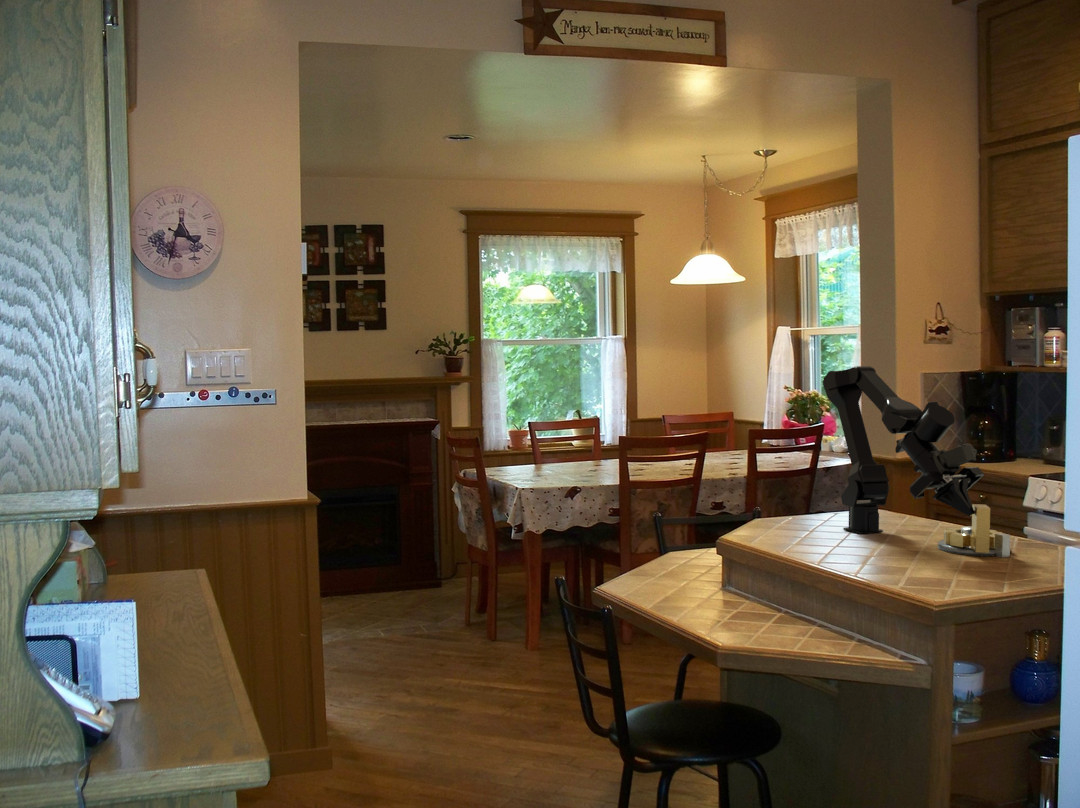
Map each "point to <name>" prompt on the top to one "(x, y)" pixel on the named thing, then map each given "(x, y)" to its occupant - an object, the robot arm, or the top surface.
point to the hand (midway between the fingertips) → (972, 514)
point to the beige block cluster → (974, 532)
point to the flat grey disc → (1000, 550)
